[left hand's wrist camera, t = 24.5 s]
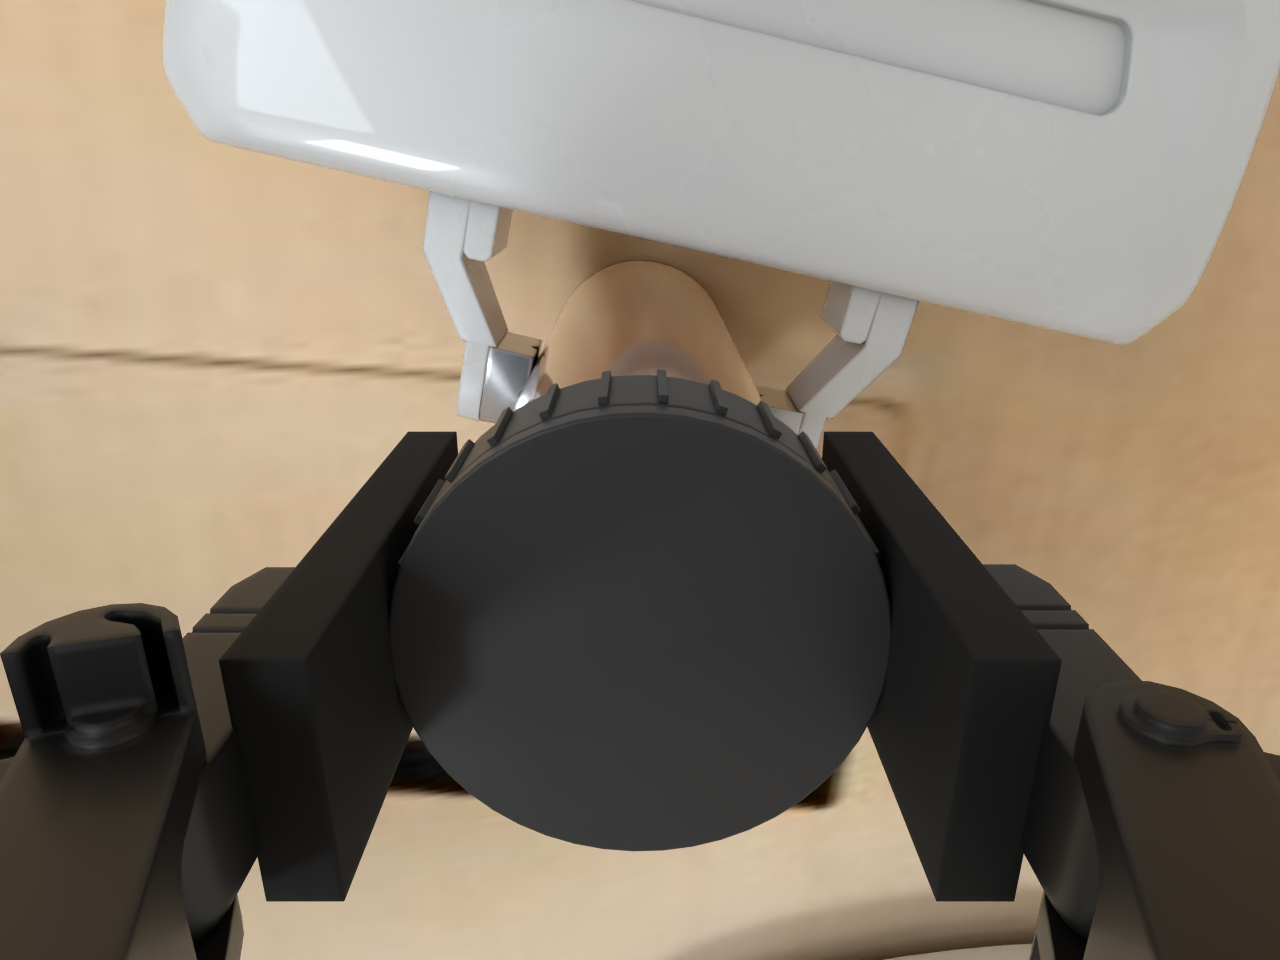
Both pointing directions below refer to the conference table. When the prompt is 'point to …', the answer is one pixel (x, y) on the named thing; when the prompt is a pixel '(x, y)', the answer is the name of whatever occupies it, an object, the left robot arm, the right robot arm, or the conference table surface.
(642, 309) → the jar
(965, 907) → the conference table surface
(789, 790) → the lid
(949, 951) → the projector
